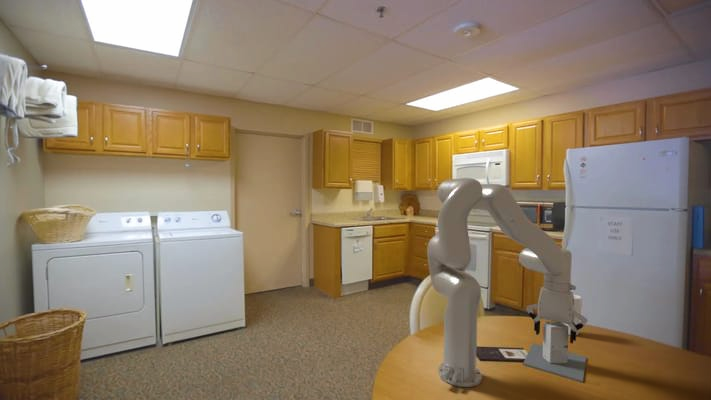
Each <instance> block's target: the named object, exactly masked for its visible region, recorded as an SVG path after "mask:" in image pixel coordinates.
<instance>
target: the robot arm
mask: <svg viewBox="0 0 711 400" xmlns="http://www.w3.org/2000/svg"><path fill="white" fill-rule="evenodd" d="M437 197H438V199H439V201H440V202H441V203H442V205H441V207H440V208H439V212H438V214H437V215H438V216H437V229H438V231H437V232H438V234H435V235H433V236H432V238H430V240H429V241H428V244H427V248H426V249H427V250H426V255H427V263H428V269H429V277H430V280H431V284H432V286H433V287H432V288H433V289H434V290H435V291H436V292H437V293H438V294H440V295H441V296H443V297H445V298H446V299H447V305H446V307H445V309H444V314H443V363H441V364H440V365H439V366H438V369H437V370H438V371H437V373H438V376H439V377H440V380H441V381H442V382H444V383H448V384H450V385H453V386H456V387H460V388H472V387H475V386H479V384H480V383H482V380H483V378H482V376H483V375H482V372H480V370H479V369H478V368H477V356H476V354H477V346H478V342H477V340H478V339H477V338H478V311H479V305H480V300H481V297H482V296H481V295H482V289H481V286H480V283H479V282H478V280H477V279H476V278H475V277H474V276H472V275H471V274H469V273H467V272H465V271H462V270H464V269H465V268H468V267H469V266H470V263H471V261H472V249H471V242H470V235H469V228H468V220H469V215H470V214H471V211H472V210H479V211H481V210H482V211H487V212H488V214H489V215H490V216H491V218H492V219H493V220H494V222H495V223H496V225H497V226H498V228H499V229H500V231H501V232H502V233H503V234H504V235H505V236H506V237H507V238H510V239H511V240H512V241H514V242H516V243H518V244H520V245H522V246H523V247H525V248H524V249H522V250H521V251H520V252H519V255H518V260H519V264H520V265H522V267H524V268H526V269H527V270H530V271H534V272H537V273H540V274H542V275H543V285H542V286H541V288H540V291H539V296H538V302H537V303H534V304H530V305H527V306H526V307H525V309H526V312H527V313H528V315H529V317H530V318H531V319H532V321H533V322H534V324H533V325H534V329H533V330H534V331H535V335H537V336H539V334H540V330H541V320H542V319H544V320H546V321H547V320H548V321H550V322H560V323H564V324H568V325H569V326H570V327H571V332H570V335H569V343H570V344H572V345H573V343H574V342H576V341H577V335H576V331H577V330H579V331H580V330H581V329H583V327H585V325H586V324H587V323H588V321H589V320H588V318H587V317H586V316H584V315H582V314H579V313H577V312H576V311H574V296H573V294H574V292H573V291H576V290H577V289H576V288H577V286H576V285H573V284H572V281H571V279H572V261H573V258H572V256H573V255H572V252H571V251H570V250H569V249H566V248H560V246H559V245H558V243H557V242H556V241H555V239H553V238H552V237H551V236H550V235H549V234H548V233H547V232H545V231H544V230H543V229H542V228H541V227H539V226H538V225H537V224H535V223H534V222H532V221H531V220H530V219H529V218H528V217H527V215H526V213H525V212H524V211H523V209H522V207H521V206H520V205H519V203H518V202H517V200H516V199H515V197H514V196H513V194H512V193H511V191H510V190H509V189H508V187H506V186H505V185H502V184H499V183H486V184H485V183H483V184H482V183H481V182H480V181H479V180H478V179H475V178H471V177H464V178H463V177H461V178H449V179H445V180H443V181H442V182H441V183H440V184H439V185H438V187H437ZM536 309H537V315H536V314H535V312H534V311H533V310H536ZM574 316H575V317H577V318H578V319H580V323H578V324H577V325H576V324H575V323H574V322H573V320H574Z"/></svg>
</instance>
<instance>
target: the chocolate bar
mask: <svg viewBox="0 0 711 400" xmlns="http://www.w3.org/2000/svg"><path fill="white" fill-rule="evenodd" d="M527 354H528V351H527V350H525V349H524V348H523V347H506V346H505V347H503V346H478V345H477V354H476V358H477V359H478V360H479V361H480V362H482V361H483V362H502V363H503V362H504V363H505V362H508V363H523V362H524V360H525V358H526V356H527Z"/></svg>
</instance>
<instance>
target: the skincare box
mask: <svg viewBox="0 0 711 400" xmlns="http://www.w3.org/2000/svg"><path fill="white" fill-rule="evenodd" d="M542 335H543V336H542V345H543V358H544V359H545V360H547V361H548V362H549V363H567V361H568V352H569V335H568V326H567V325H565V324H563V323H560V322H555V321H543V331H542Z"/></svg>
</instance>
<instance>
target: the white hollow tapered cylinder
mask: <svg viewBox="0 0 711 400" xmlns="http://www.w3.org/2000/svg"><path fill="white" fill-rule="evenodd" d="M573 296H574V311H576V312H577V313H579V314H581V313H582V305H583V304H582V302H583V301H582V296H581V295H577V294H574V293H573ZM581 315H582V314H581ZM573 322H574V323H575V324H576V325H577V324H578V323H580V322H581V320H580V319H578V318H577V317H575V316H574V320H573ZM563 324H564V323H563ZM565 325H567V326H568V336H570V332H571V327H570V326H569V325H568V324H565ZM579 331H580V329H579V330H577V331H576V336H578V335H579V333H580V332H579Z"/></svg>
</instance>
